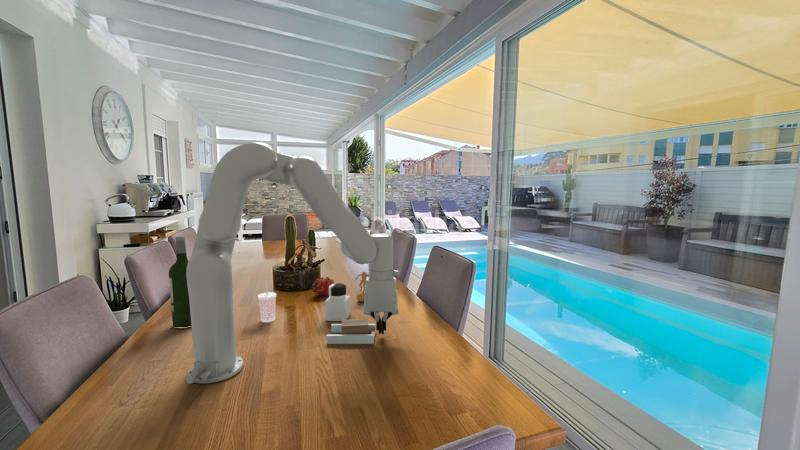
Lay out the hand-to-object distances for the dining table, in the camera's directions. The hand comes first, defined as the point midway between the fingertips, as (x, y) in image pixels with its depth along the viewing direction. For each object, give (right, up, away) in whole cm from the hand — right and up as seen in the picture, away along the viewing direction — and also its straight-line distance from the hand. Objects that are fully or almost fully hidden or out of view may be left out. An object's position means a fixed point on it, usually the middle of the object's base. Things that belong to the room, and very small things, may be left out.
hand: (381, 332), depth 111 cm
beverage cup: (-40, 0, +14) cm, 43 cm away
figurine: (-9, +2, +34) cm, 36 cm away
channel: (-9, -2, 0) cm, 9 cm away
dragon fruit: (-26, +3, +42) cm, 50 cm away
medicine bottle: (-16, 0, +17) cm, 23 cm away
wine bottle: (-66, -1, +10) cm, 67 cm away
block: (-8, -2, 0) cm, 8 cm away
